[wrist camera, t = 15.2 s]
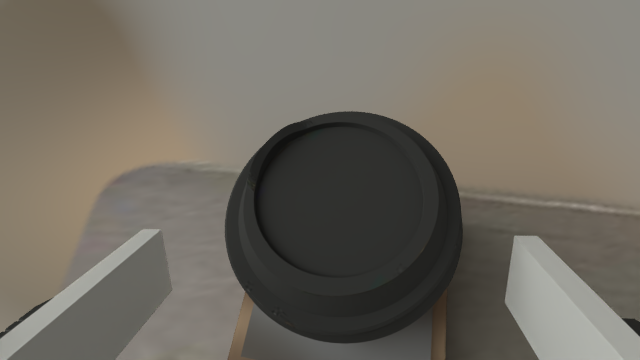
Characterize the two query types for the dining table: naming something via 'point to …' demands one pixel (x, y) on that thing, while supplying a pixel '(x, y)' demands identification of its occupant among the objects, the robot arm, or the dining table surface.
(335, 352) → the walnut block
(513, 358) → the dining table surface
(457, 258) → the coffee cup
